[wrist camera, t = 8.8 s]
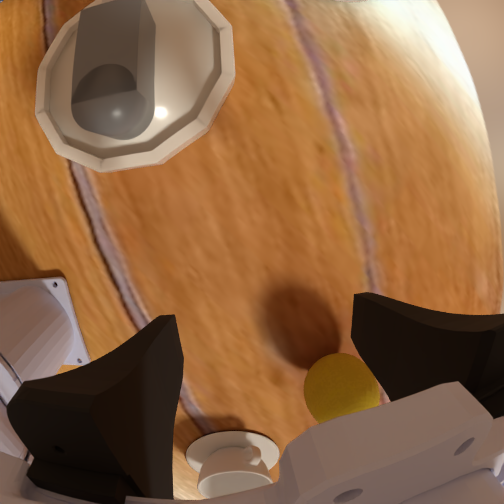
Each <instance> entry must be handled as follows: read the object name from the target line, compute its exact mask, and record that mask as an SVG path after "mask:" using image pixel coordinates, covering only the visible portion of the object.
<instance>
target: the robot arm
mask: <svg viewBox="0 0 504 504" xmlns="http://www.w3.org/2000/svg"><path fill="white" fill-rule="evenodd" d="M55 282H56V283H57V285H58V286H56V285H55ZM351 339H352V341H353V343H354V345H355V347H356V349H357V351H358V353H359V355H360V356H361V358H362V359H363V361H364V362H365V364H366V365H367V366H368V368H369V369H370V371H371V372H372V373H373V375H374V376H375V378H376V379H377V380H378V382H379V383H380V385H381V386H382V387H383V389H384V390H385V392H386V394H387V395H388V397H389V399H390V401H391V402H389V403H386V404H383V405H380V406H376V407H373V408H370V409H366V410H362V411H359V412H355V413H351V414H347V415H343V416H339V417H335V418H333V419H330V420H328V421H325V422H323V423H320V424H317V425H315V426H312V427H310V428H308V429H307V430H306V431H305V432H303V433H302V434H301V435H299V436H298V437H297V438H295V439H294V440H293V441H291V442H290V443H289V444H288V445H287V446H286V448H285V450H284V453H283V455H282V457H281V459H280V461H279V470H280V476H279V480H278V482H275V483H271V484H268V485H264V486H261V487H257V488H254V489H250V490H246V491H242V492H238V493H233V494H229V495H224V496H219V497H214V498H209V499H203V500H174V498H173V473H172V457H173V429H174V421H175V416H176V411H177V405H178V400H179V395H180V390H181V385H182V379H183V364H184V357H183V352H182V347H181V343H180V338H179V333H178V328H177V323H176V318H175V314H174V315H160V316H158V317H157V318H155V319H154V320H153V321H151V322H150V323H149V324H148V325H146V326H145V327H144V328H143V329H142V330H140V331H139V332H138V333H137V334H135V335H134V336H133V337H131V338H130V339H129V340H127V341H126V342H124V343H123V344H122V345H120V346H119V347H117V348H116V349H114V350H113V351H111V352H110V353H108V354H106V355H104V356H102V357H101V358H99V359H97V360H95V361H92V362H90V357H89V354H88V352H87V349H86V346H85V343H84V340H83V337H82V334H81V331H80V328H79V325H78V321H77V318H76V315H75V311H74V308H73V304H72V301H71V297H70V293H69V290H68V286H67V282H66V280H65V279H64V278H63V277H50V278H38V279H25V280H13V281H0V504H504V314H496V315H464V314H453V313H446V312H440V311H434V310H430V309H426V308H422V307H418V306H414V305H411V304H407V303H404V302H401V301H398V300H395V299H392V298H388V297H385V296H382V295H378V294H375V293H369V292H365V293H359V294H354V301H353V316H352V328H351ZM79 359H81V360H82V361H80V360H79ZM62 364H65V365H83V366H81V367H79V368H76V369H73V370H70V371H67V372H64V373H61V374H58V375H56V373H57V372H58V370H59V369H60V367H61V366H62Z"/></svg>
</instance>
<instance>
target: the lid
mask: <svg viewBox="0 0 504 504" xmlns="http://www.w3.org/2000/svg"><path fill="white" fill-rule="evenodd" d="M335 1H343V2H360V1H367V0H335Z"/></svg>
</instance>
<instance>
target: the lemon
mask: <svg viewBox="0 0 504 504" xmlns="http://www.w3.org/2000/svg"><path fill="white" fill-rule="evenodd" d="M304 396H305V401H306V405H307V407H308V409H309V411H310V413H311V414H312V415H313V417H314V418H315V420H316V421H317V422H318V423H319V424H320V423H323V422H325V421H328V420H330V419H333V418H335V417H339V416H343V415H347V414H351V413H355V412H359V411H362V410H366V409H370V408H373V407H376V406H378V405H379V400H380V395H379V389H378V384H377V381H376V379H375V377H374V375H373V373H372V372H371V371H370V369H369V368H368V366H367V365H366V364H365V363H364V362H363V361H361V360H360V359H358V358H357V357H355V356H353V355H349V354H346V353H334V354H329V355H327V356H324V357H322V358H321V359H319V360H318V361H317V362H316V363H314V364H313V366H312V367H311V368H310V370H309V371H308V373H307V376H306V378H305V381H304Z"/></svg>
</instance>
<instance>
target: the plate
mask: <svg viewBox="0 0 504 504" xmlns="http://www.w3.org/2000/svg"><path fill="white" fill-rule="evenodd" d="M145 1H146V3H147V6H148V8H149V10H150V13H151V15H152V17H153V20H154V22H155V24H156V34H155V76H154V88H155V112H154V116H153V119H152V121H151V123H150V125H149V126H148V128H147V129H146V130H145V131H144V132H143V133H142V134H140V135H139V136H137V137H135V138H133V139H129V140H117V139H113V138H110V137H107V136H103V135H100V134H97V133H93V132H90V131H86V130H84V129H82V128H81V127H80V126H79V125H78V124H77V123H76V122H75V120H74V118H73V115H72V111H71V92H72V76H73V64H74V54H75V45H76V38H77V31H78V25H79V19H80V13H81V11H80V12H79V13H77V14H76V15H75V16H74V17H72V18H71V19H70V20H69V21H67V22H66V23H65V24H64V25H63V26H62V28H61V29H60V31H59V32H58V34H57V36H56V37H55V39H54V41H53V42H52V44H51V46H50V48H49V49H48V51H47V53H46V55H45V56H44V58H43V60H42V62H41V64H40V66H39V69H38V74H37V86H36V103H35V116H36V118H37V120H38V122H39V124H40V125H41V127H42V129H43V131H44V133H45V134H46V136H47V138H48V140H49V142H50V143H51V145H52V147H53V149H54V150H55V152H56V154H58V155H61V156H63V157H65V158H68V159H70V160H72V161H74V162H77V163H79V164H81V165H84V166H86V167H88V168H91V169H93V170H95V171H97V172H100V173H103V172H116V171H122V170H128V169H134V168H140V167H147V166H154V165H161V164H163V163H165V162H166V161H167V160H169V159H170V158H171V157H173V156H174V155H176V154H177V153H178V152H180V151H181V150H182V149H184V148H185V147H187V146H188V145H190V144H191V143H192V142H194V141H195V140H197V139H198V138H200V137H201V136H203V135H204V134H205V133H207V132H208V131H209V130H210V128H211V126H212V124H213V122H214V120H215V118H216V116H217V114H218V112H219V110H220V109H221V107H222V105H223V103H224V101H225V99H226V98H227V96H228V94H229V92H230V90H231V88H232V87H233V85H234V80H235V62H234V48H233V33H232V25H231V24H230V23H229V22H228V21H227V20H226V19H225V17H224V16H223V15H222V14H221V13H220V12H219V11H218V10H217V9H216V7H215V6H214V5H213V4H212V3H211V2H210V1H209V0H145ZM101 2H102V0H95V1H94V2H92V3H91V4H89V5H88V6H87V7H85V8H84V9H86V8H89V7H92V6H96V5H99V4H101Z"/></svg>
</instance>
